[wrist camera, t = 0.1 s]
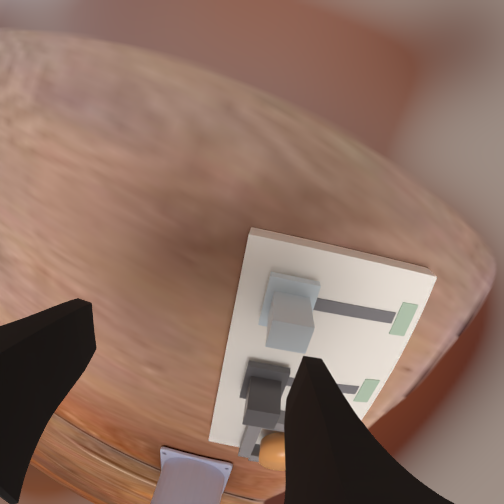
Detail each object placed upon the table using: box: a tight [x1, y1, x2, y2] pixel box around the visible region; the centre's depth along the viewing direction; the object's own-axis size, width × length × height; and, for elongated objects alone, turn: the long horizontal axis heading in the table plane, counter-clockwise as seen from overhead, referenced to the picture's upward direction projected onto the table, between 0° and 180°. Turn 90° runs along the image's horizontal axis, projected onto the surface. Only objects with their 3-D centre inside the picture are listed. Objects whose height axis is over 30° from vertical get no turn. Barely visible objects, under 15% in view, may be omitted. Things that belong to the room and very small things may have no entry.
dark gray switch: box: [239, 360, 290, 429], centre depth 18 cm, size 3×3×4 cm
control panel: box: [208, 227, 437, 462], centre depth 20 cm, size 20×12×3 cm, turn 169°
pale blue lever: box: [258, 272, 321, 354], centre depth 16 cm, size 3×3×4 cm
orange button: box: [259, 432, 286, 471], centre depth 20 cm, size 4×4×2 cm
